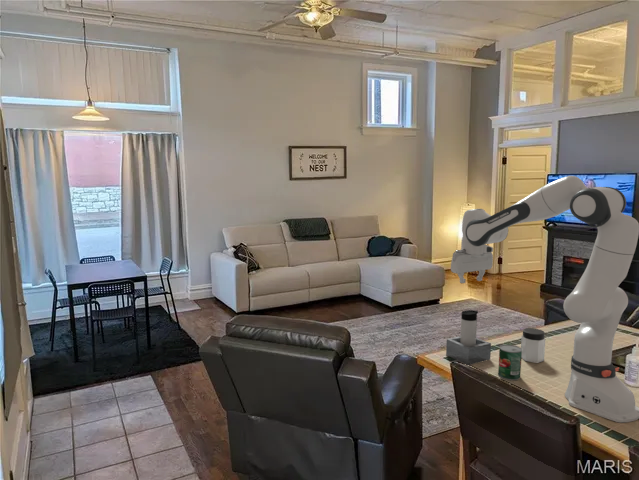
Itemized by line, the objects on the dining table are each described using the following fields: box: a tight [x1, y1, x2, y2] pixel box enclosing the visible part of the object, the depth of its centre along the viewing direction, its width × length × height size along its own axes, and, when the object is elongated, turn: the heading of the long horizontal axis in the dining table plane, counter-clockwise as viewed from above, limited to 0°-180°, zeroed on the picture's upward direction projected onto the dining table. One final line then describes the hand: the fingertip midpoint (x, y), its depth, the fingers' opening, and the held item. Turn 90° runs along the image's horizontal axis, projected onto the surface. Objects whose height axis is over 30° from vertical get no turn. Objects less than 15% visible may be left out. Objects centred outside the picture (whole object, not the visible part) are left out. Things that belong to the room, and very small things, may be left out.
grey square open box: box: [445, 335, 492, 366], centre depth 195 cm, size 12×12×7 cm
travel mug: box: [460, 309, 479, 347], centre depth 195 cm, size 6×7×20 cm
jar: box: [520, 327, 546, 364], centre depth 193 cm, size 9×8×12 cm
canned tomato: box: [497, 344, 522, 381], centre depth 177 cm, size 8×8×11 cm
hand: (471, 281), depth 192 cm, fingers open, 8 cm apart
